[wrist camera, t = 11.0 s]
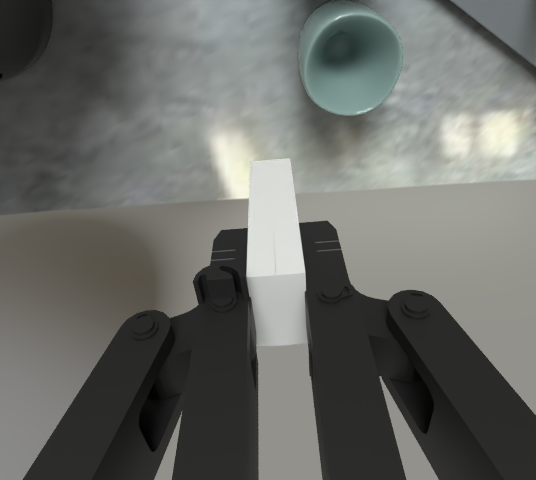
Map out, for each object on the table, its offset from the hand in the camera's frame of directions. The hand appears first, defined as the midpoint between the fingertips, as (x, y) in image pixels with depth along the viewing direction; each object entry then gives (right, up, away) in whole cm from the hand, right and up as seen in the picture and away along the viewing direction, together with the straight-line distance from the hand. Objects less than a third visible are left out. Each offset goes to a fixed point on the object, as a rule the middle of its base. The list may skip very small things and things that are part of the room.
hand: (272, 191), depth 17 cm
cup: (+6, +17, +24) cm, 30 cm away
